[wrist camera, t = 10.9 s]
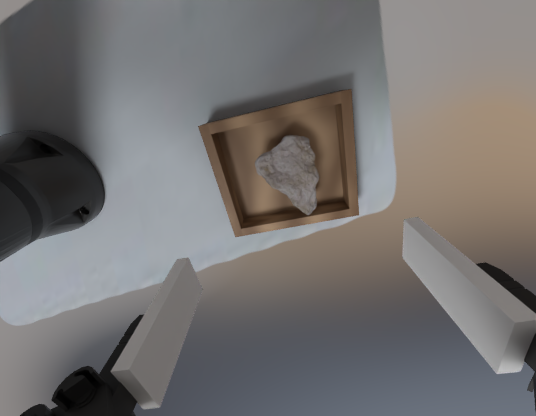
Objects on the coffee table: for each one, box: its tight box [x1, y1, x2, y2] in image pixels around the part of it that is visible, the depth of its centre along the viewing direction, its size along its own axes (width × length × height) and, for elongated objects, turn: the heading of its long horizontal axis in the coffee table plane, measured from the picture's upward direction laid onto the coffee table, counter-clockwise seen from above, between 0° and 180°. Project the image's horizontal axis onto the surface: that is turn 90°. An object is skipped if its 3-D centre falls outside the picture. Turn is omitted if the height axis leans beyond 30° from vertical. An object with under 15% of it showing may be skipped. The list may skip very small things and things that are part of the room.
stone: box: [255, 135, 319, 215], centre depth 30 cm, size 10×8×6 cm
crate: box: [198, 89, 359, 237], centre depth 31 cm, size 18×16×4 cm
